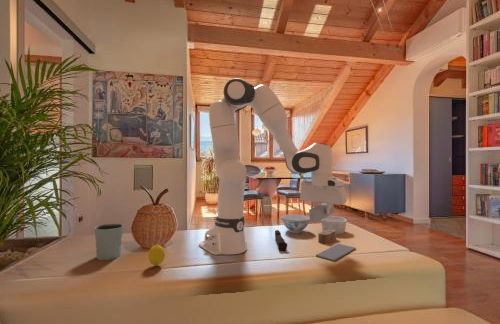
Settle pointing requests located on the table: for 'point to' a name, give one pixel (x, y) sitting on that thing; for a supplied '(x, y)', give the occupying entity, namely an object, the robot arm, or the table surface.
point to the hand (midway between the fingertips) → (322, 213)
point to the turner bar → (319, 212)
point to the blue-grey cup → (108, 241)
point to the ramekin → (334, 224)
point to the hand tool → (280, 241)
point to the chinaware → (295, 222)
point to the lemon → (156, 255)
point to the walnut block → (327, 236)
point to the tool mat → (335, 252)
